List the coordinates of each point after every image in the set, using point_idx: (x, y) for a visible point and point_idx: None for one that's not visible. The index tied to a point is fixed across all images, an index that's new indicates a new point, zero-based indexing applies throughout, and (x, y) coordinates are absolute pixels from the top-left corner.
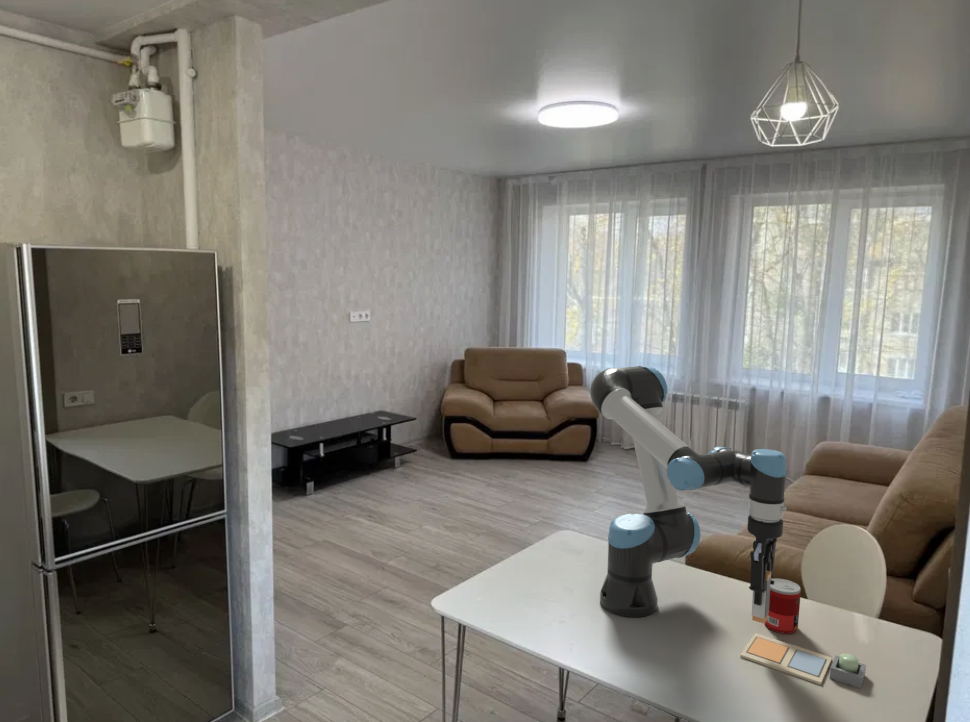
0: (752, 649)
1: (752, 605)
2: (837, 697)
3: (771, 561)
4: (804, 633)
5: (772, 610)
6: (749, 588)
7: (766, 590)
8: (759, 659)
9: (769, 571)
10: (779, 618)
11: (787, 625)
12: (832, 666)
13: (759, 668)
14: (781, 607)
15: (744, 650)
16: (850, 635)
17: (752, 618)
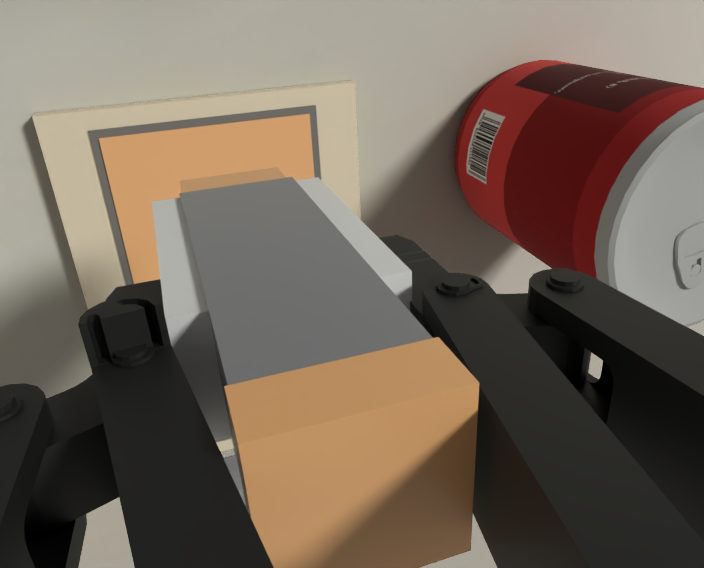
0: (149, 150)
1: (157, 237)
2: (100, 530)
3: (695, 525)
4: (514, 252)
5: (517, 156)
6: (89, 315)
7: (233, 445)
8: (81, 220)
9: (454, 539)
10: (491, 190)
11: (484, 217)
12: (241, 494)
13: (17, 242)
14: (532, 221)
15: (103, 115)
16: (591, 370)
17: (182, 185)
